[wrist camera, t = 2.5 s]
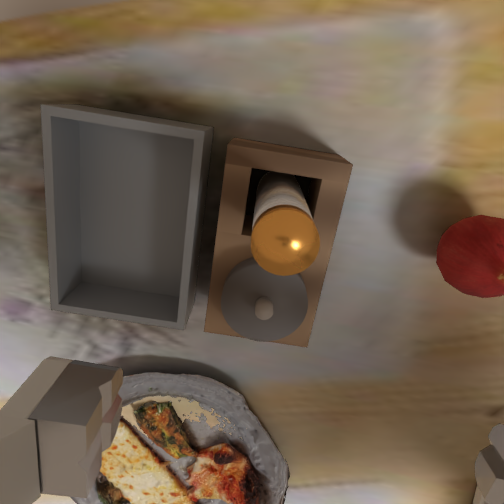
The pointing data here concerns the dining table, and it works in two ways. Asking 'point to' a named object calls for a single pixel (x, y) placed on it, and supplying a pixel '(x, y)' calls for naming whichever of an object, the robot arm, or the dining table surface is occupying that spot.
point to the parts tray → (124, 212)
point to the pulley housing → (241, 258)
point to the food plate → (188, 449)
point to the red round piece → (474, 256)
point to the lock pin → (283, 226)
